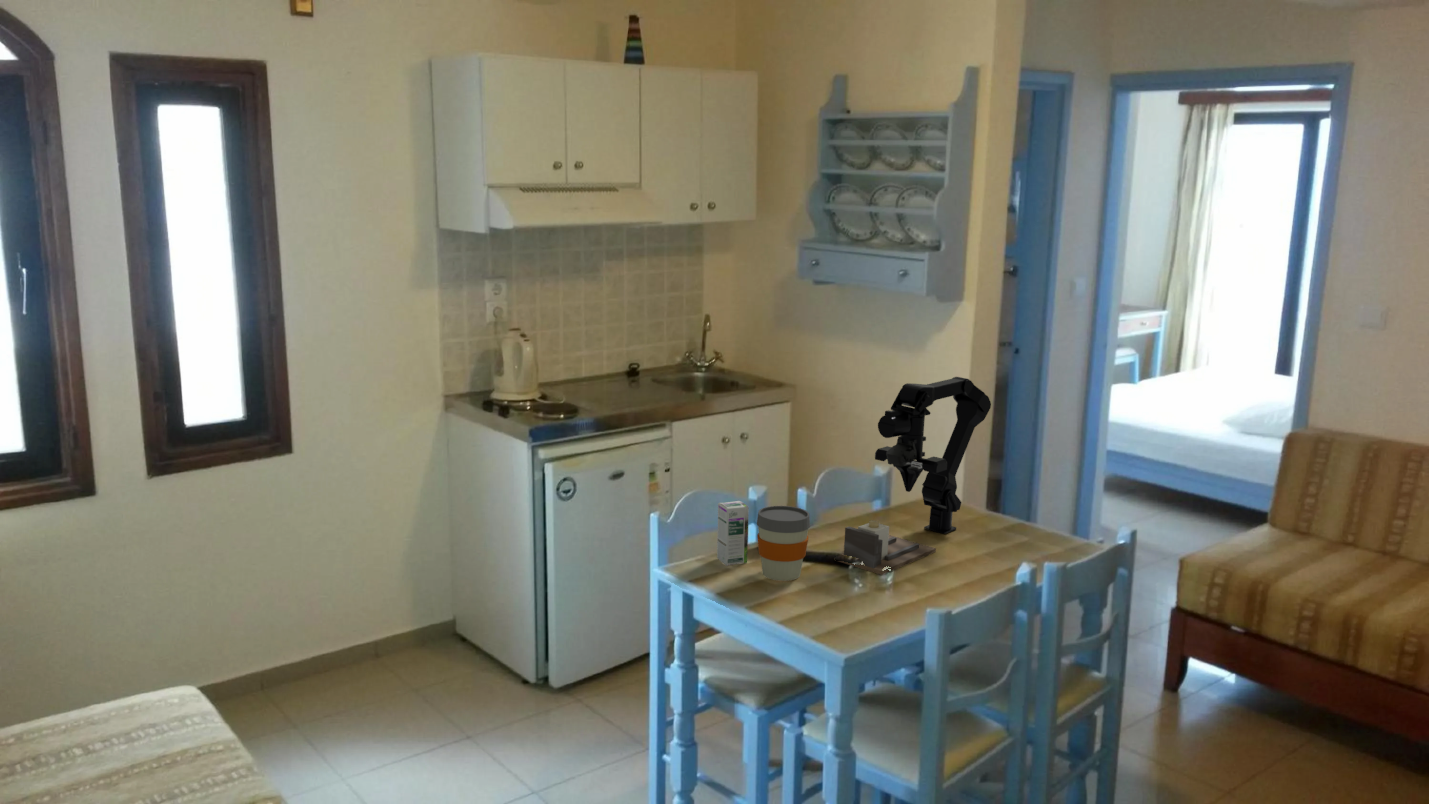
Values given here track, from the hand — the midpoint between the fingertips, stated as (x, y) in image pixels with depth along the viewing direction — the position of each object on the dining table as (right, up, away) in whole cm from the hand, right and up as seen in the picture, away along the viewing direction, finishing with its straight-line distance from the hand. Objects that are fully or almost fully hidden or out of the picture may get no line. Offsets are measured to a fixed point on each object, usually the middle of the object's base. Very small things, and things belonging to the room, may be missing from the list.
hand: (908, 491), depth 283 cm
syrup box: (-46, -16, -17) cm, 52 cm away
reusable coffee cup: (-35, -18, -25) cm, 46 cm away
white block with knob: (-12, -15, -16) cm, 25 cm away
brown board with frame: (-8, -15, -11) cm, 20 cm away
